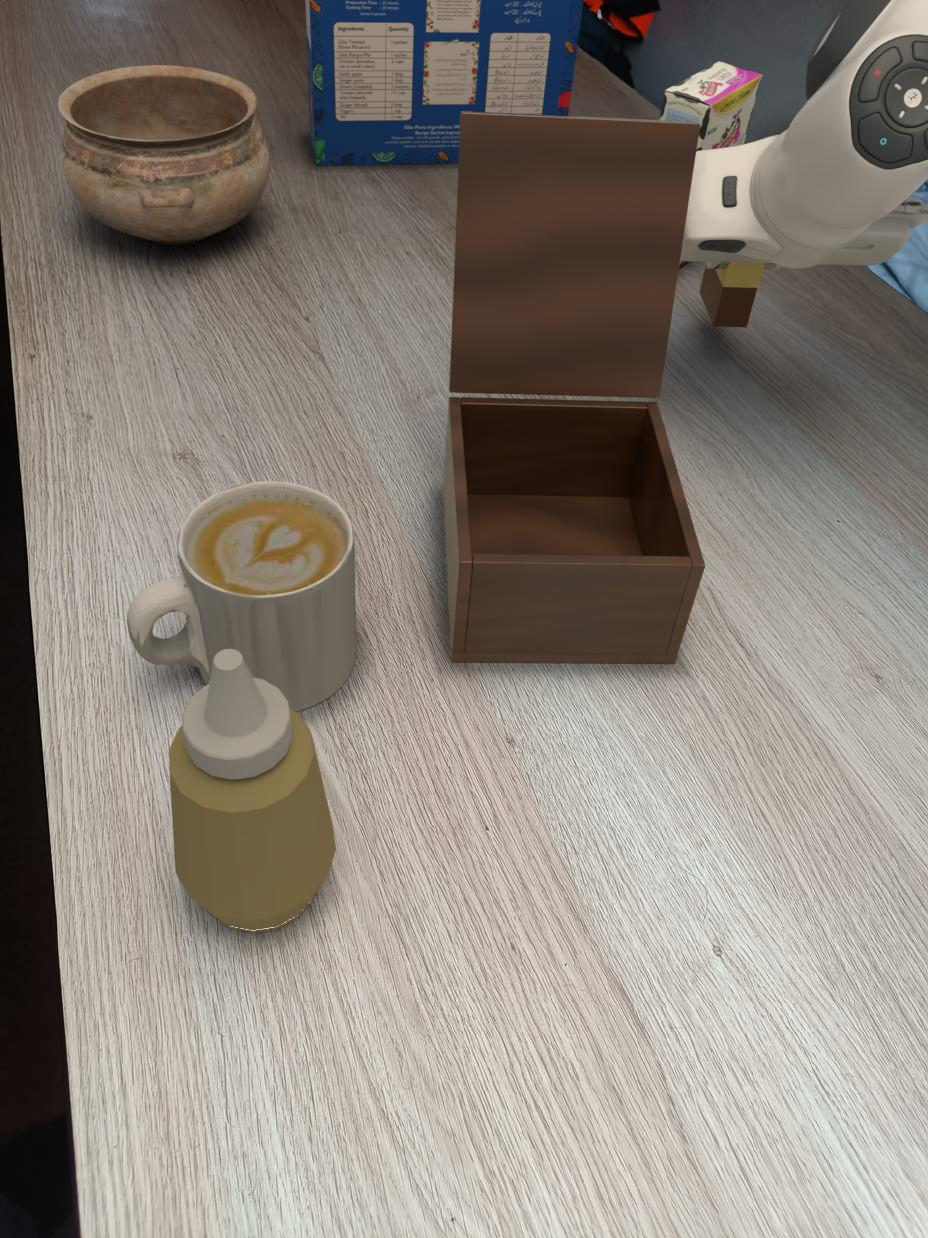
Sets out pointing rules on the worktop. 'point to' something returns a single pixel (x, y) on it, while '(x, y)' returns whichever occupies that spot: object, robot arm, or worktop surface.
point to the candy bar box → (714, 105)
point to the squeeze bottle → (248, 802)
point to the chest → (565, 533)
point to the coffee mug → (260, 590)
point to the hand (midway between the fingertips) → (740, 260)
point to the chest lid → (567, 252)
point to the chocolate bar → (731, 293)
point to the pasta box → (430, 72)
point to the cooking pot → (164, 151)
